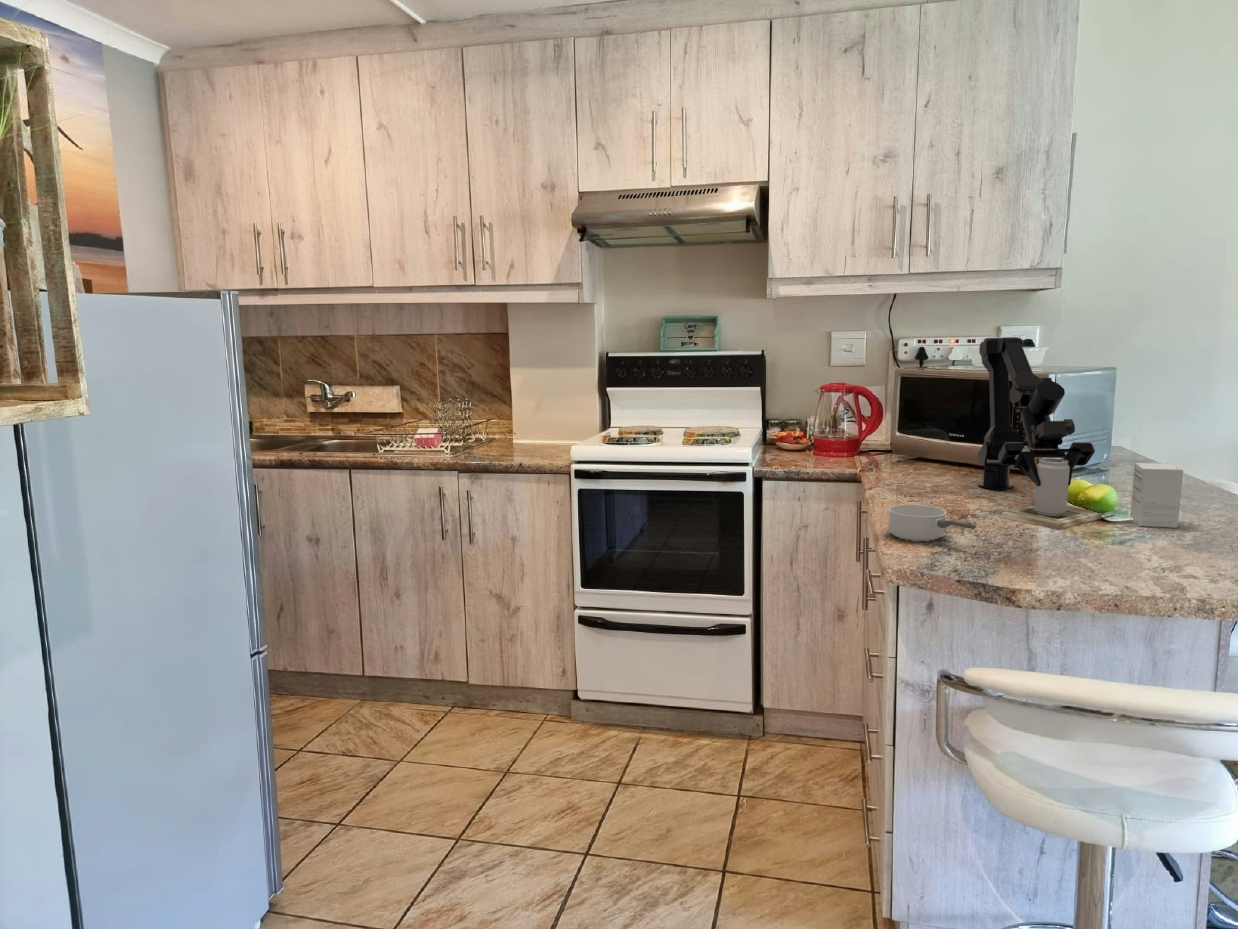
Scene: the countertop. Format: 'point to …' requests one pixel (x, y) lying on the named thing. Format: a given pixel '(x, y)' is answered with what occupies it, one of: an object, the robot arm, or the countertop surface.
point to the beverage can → (1052, 487)
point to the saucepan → (920, 522)
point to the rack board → (1072, 518)
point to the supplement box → (1156, 495)
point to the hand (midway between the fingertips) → (1053, 485)
